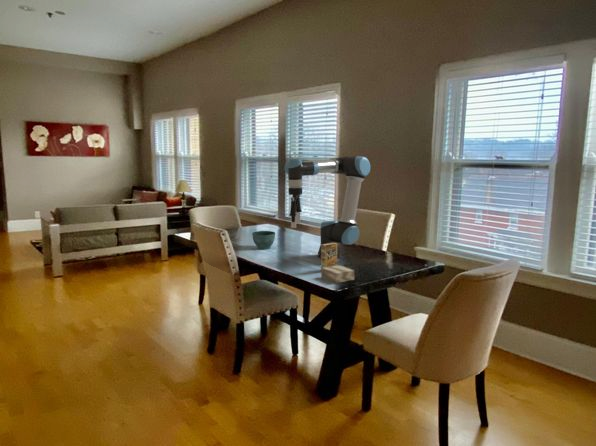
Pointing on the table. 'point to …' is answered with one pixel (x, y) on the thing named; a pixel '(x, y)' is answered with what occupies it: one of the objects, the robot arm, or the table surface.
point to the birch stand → (337, 273)
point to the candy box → (328, 255)
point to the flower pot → (263, 239)
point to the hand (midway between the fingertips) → (295, 225)
